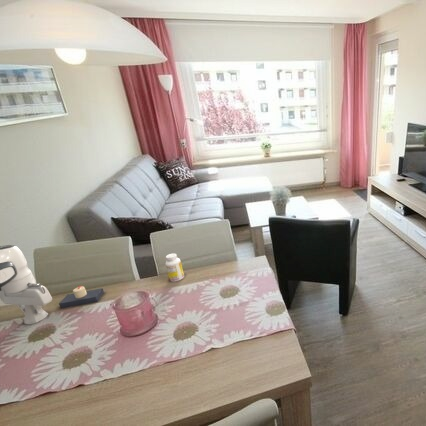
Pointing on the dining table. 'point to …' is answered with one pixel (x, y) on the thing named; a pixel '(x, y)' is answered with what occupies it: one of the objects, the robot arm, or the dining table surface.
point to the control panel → (82, 298)
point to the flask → (33, 315)
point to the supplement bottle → (174, 267)
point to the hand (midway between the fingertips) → (33, 312)
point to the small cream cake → (79, 292)
